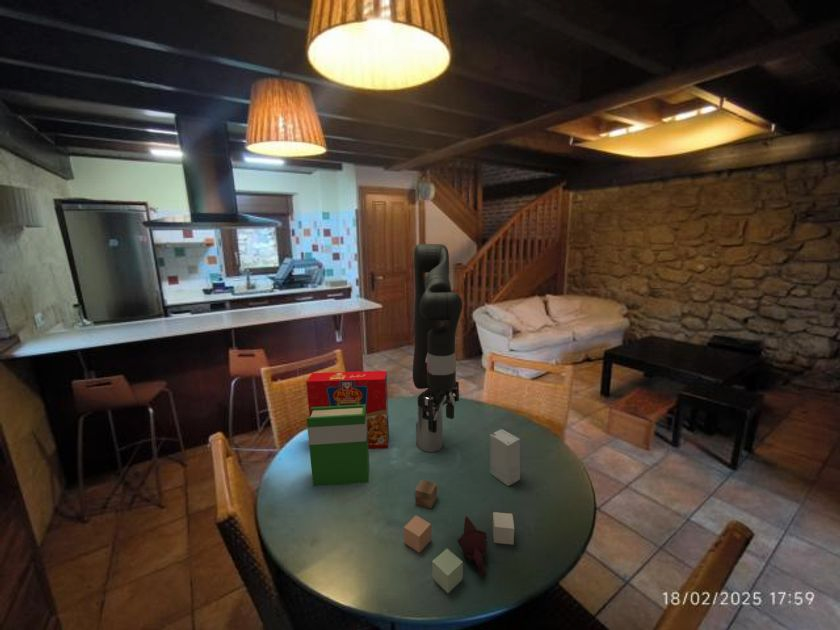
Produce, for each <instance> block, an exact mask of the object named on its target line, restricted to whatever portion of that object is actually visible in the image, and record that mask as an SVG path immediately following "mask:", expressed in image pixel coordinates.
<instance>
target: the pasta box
mask: <svg viewBox="0 0 840 630" xmlns="http://www.w3.org/2000/svg"><path fill="white" fill-rule="evenodd" d="M305 382H306V392H307V404H308V413H309V414H308V415H309V417H311V407H326V406H343V405H360V404H366V414H367V432H368V449H369V450H379V449H382V450H384V449H386V450H387V449H389V441H390V427H389V422H390V421H389V406H388V405H389V401H388V399H389V398H388V380H387V370H367V371H365V370H364V371H363V370H361V371H335V372H333V371H332V372H331V371H330V372H311V374H310V375H309V377H308V378H307V380H306V381H305Z"/></svg>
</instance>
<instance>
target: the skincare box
mask: <svg viewBox="0 0 840 630" xmlns="http://www.w3.org/2000/svg"><path fill="white" fill-rule="evenodd" d="M520 441H521V439H520V438H519V437H517V436H516V435H514V434H511V433H510V432H508V431H506V430H504V429H502V428H501V429H499V430H496V431H495V432H492V433H491V434H489V455H490V456H489V461H490V462H489V463H490V464H489V467H490V474H491V475H492V476H493V477H495V478H496V479H497V480H499V481H500V482H502V484H504V485H505V486H507V487H509V486H510V485H513V484H515V483H517V482H519V481H520V479H521V452H520V451H521V448H520V447H521V444H520V443H521V442H520Z"/></svg>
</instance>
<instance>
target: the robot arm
mask: <svg viewBox="0 0 840 630" xmlns="http://www.w3.org/2000/svg"><path fill="white" fill-rule="evenodd" d="M413 252H414V253H413V266H414V267H413V269H414V287H415V289H414V291H415V293H414V324H413V325H414V327H413V328H414V347H413V348H414V349H413V350H414V352H413V362H412V382H413V385H414V387H415V388H416V389H418V390H424V391H423V392H421V393H420V394H419V395H418V396H417V420H416V421H415V436H416V437H415V439H416V445H417V446H418V448H419V449H420V450H421V451H423V452H426V453H427V452H428V453H434V452H438V451H440V450H441V449H443V446H444V439H443V438H444V434H443V433H444V427H443V426H444V424H443V423H444V418H443V417H444V415H443V407H444V406H445V416H446V417H445V418H447V419H450V420H453V419H454V418H455V406H456V405H457V404H456V403H457V402H459V401H460V400H459V399H460V390H459V389H460V387H459V385H460V384H459V381H457V380H456V379H457V361H456V360H457V358H456V345H455V344H456V333H457V327H458V324H459V321H460V319H461V314H462V310H463V300H462V297H461V295H460V294H459V293H458V292H454V291H452V287H451V282H450V278H449V277H450V256H449V250H448V247H447V246H446V245H445V244H441V243H440V244H439V243H418V244H416V245H415V248H414V251H413ZM425 274H426V277H425ZM442 321H446V323H445V324H444V325H442ZM425 389H426V390H425Z"/></svg>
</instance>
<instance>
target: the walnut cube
mask: <svg viewBox="0 0 840 630" xmlns="http://www.w3.org/2000/svg"><path fill="white" fill-rule="evenodd" d="M437 485H438V483H437V482H433V481H428V480H425V479H421V480H420V481H419V483H418V485H417V486H416V488H415V489H414V498H415V499H414V501H415V503H414V504H415V505H417V506H420V507H424V508H426V509H430V510H431V509H432V508H433V506H434V504H435V502H436V501H437V498H438V495H437V494H438V486H437Z"/></svg>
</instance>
